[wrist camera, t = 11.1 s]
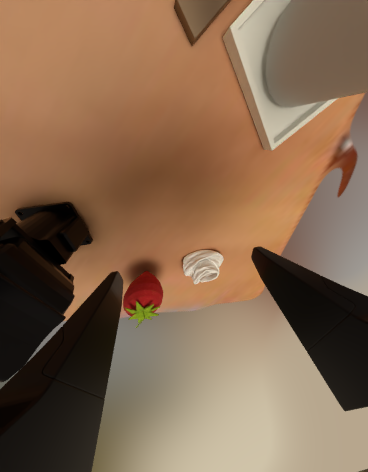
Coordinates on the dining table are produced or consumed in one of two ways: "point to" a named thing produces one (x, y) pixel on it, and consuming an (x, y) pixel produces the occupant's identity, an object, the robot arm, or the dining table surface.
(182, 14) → the strip
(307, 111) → the tray
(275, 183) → the dining table surface
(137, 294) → the strawberry
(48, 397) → the robot arm
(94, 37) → the dining table surface
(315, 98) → the can
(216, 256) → the whipped cream
